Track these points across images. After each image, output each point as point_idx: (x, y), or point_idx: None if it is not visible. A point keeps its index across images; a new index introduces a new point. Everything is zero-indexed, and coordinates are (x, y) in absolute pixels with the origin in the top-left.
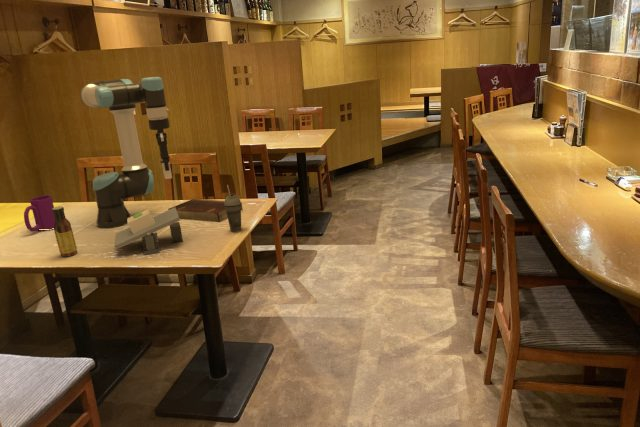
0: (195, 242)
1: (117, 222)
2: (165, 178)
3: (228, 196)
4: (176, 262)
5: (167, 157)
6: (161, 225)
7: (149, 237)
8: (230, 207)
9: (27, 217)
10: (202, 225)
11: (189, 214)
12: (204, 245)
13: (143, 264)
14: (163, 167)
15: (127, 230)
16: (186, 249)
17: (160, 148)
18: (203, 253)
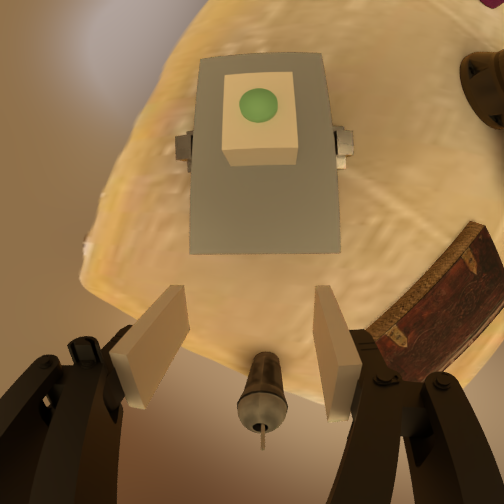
0: (223, 265)
1: (469, 87)
2: (169, 289)
3: (257, 420)
4: (113, 212)
5: (44, 412)
6: (191, 189)
7: (176, 149)
8: (240, 398)
9: None
10: (359, 297)
11: (434, 276)
12: (190, 282)
13: (132, 139)
14: (132, 329)
15: (301, 80)
16: (181, 238)
17: (35, 476)
18: (141, 272)
